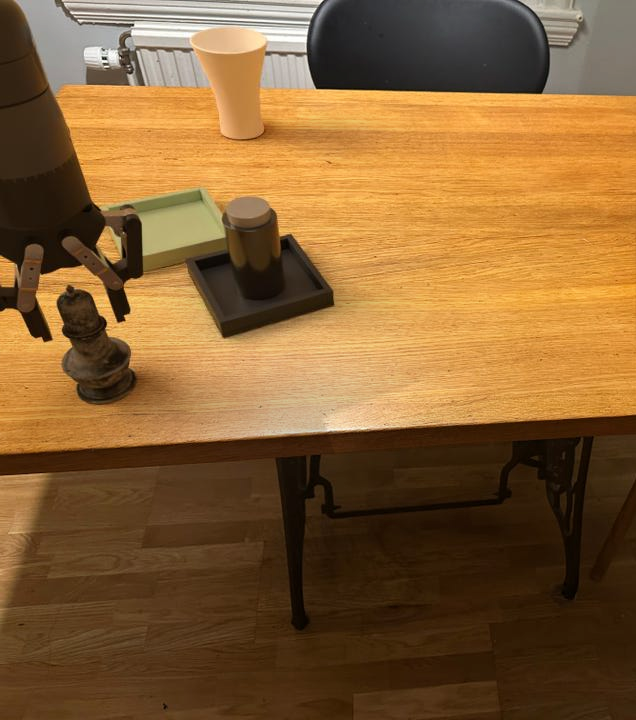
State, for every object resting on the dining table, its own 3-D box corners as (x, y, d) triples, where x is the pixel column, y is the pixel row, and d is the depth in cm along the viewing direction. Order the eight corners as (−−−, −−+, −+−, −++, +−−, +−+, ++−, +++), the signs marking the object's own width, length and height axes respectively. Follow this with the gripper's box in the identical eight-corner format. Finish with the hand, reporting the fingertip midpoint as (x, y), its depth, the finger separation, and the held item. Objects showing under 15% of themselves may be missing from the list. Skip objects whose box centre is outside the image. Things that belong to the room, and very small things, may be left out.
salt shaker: (71, 371, 68) (28, 271, 60) (136, 357, 70) (104, 259, 62) (74, 413, 64) (29, 312, 56) (143, 397, 66) (109, 298, 58)
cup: (210, 115, 110) (194, 25, 101) (278, 116, 112) (269, 28, 103) (203, 146, 103) (184, 52, 94) (276, 146, 105) (265, 54, 96)
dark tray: (223, 338, 73) (219, 322, 72) (188, 273, 81) (185, 258, 79) (334, 305, 79) (333, 290, 78) (292, 247, 86) (291, 233, 85)
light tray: (128, 275, 80) (124, 260, 78) (104, 220, 87) (100, 206, 85) (238, 249, 85) (235, 234, 84) (207, 199, 92) (204, 185, 91)
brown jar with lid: (244, 305, 77) (229, 226, 70) (227, 278, 80) (212, 199, 73) (292, 292, 79) (283, 214, 72) (275, 265, 82) (264, 188, 75)
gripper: (-102, 194, 45) (-3, 378, 57) (132, 155, 52) (179, 327, 63) (-107, 144, 50) (-14, 325, 61) (110, 113, 56) (157, 282, 68)
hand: (84, 325), depth 62 cm, fingers open, 5 cm apart
